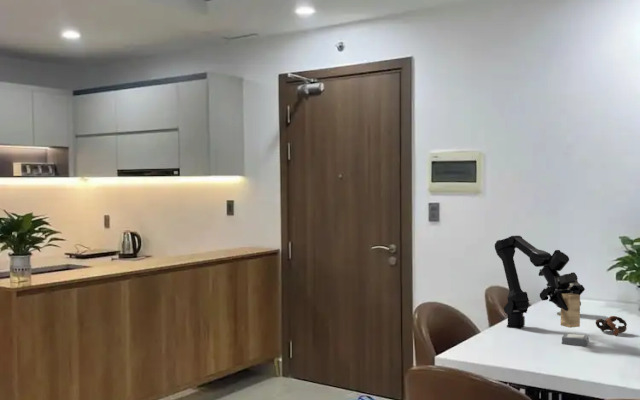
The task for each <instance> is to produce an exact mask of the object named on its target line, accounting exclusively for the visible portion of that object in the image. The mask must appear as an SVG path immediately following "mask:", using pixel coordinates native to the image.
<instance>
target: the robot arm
mask: <svg viewBox="0 0 640 400" xmlns="http://www.w3.org/2000/svg"><path fill="white" fill-rule="evenodd" d="M516 249H518V250H519V251H520V252H522V253H523V254H524V255H526V256H527V257H528V258H529V261H530V263H531V264H532V265H533V266H534V267H536V268H540V267H541V269H539V271H538V272H539V273H538V277H544V279H545V281H546V282H547V283H546V286H544V288H543V289H542V290H541V291H540V293H539V298H540V299H541V301H542V302H543V301H548V302H550V303H553V304H554V305H555V304H556V305H558V306H559V307H561V308H562V309H564V310H566V311H568V307H567V305H566V303H565V302H564V300H563V298H562V294H564V293H573V294H578V295H580V296H581V295H582V294H583V293H584V291H585V290H586V289H585V286H584V285H583V284H580V285H573V286H572V287H571V289H568V287H569V286H570V283H572V282H576V281H575V280H577V281H578V276H577V274H576V272H570V273H566V274H565V273H564V274H562V275H561V274H560V273H559V272H561V271H562V270H563V269H564V267H565V266H566V265H567V264H568V263H569V261H570V257H569V256H568V255H567V254H566V253H565V252H562V251H561V250H560V249H555V250H554V251H553V253H552V254H551V253H550V252H547V251H545V250H543V249H538V248H537V247H535V246H534V245H532V244H531V243H530V242H528V241H527V240H525V239H524V238H523V236H521V235H510V236H508V237H506V238H504V239H498V240H496V242H495V244H494V250H495V252H496V255H497V256H498V258H499V259H500V260H501V261H502V265H503V270H504V273H505V278H506V283H507V286H508V290H509V292H508V295H507V303H506V304H505V305H504V306H503V311H504V313H506V314H507V325H506V327H507V328H514V329H515V328H517V329H523V328H524V327H525V322H526V317H525V315H524V314H527V313H528V309H529V306H530V304H529V302H530V299H529V296H528V292H526V291H524V290H522V288H521V283H520V280H519V275H518V272H517V268H516V264H515V259H514V256H515V253H516ZM556 305H555V306H556ZM559 307H558V308H559ZM561 308H560V309H561Z"/></svg>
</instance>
